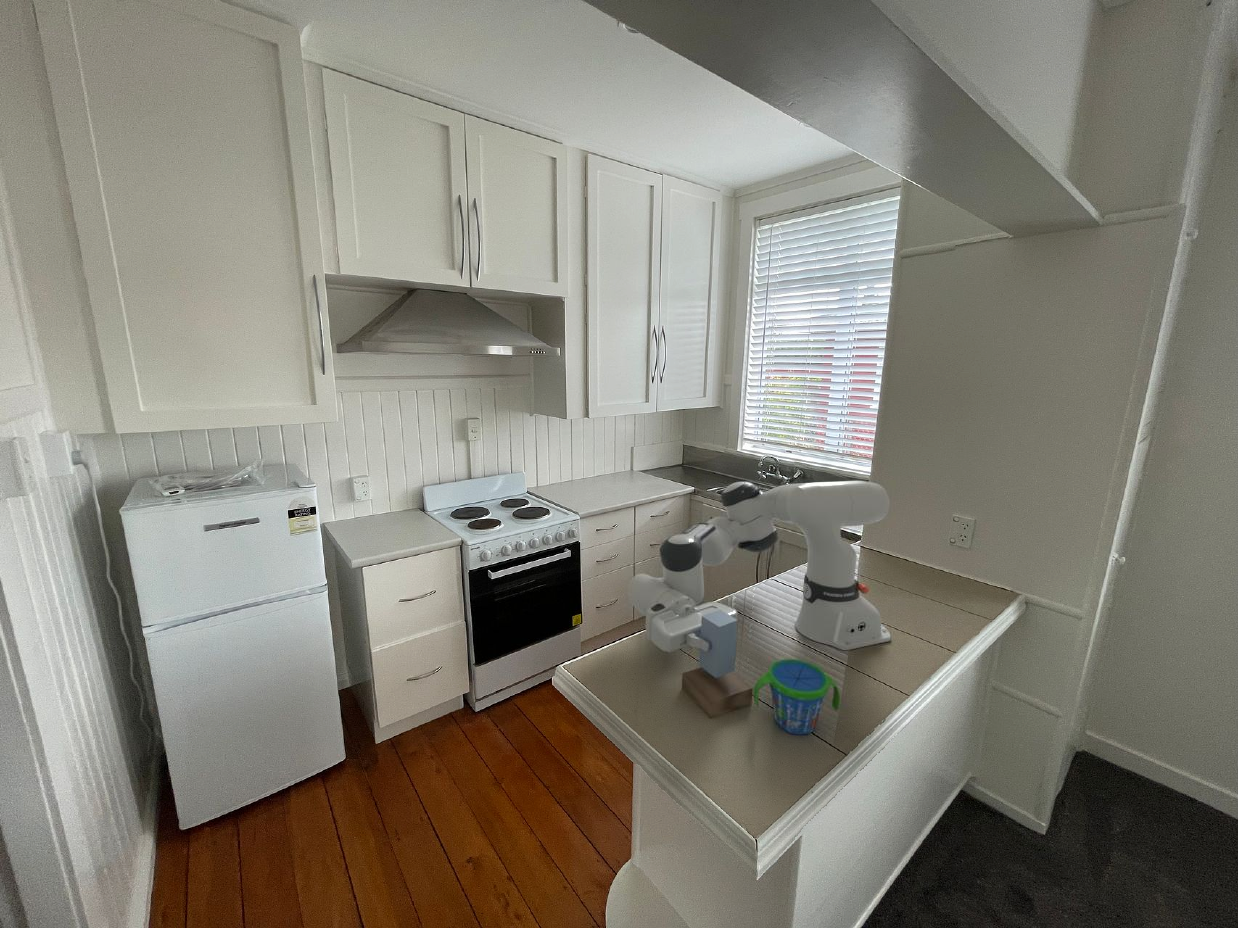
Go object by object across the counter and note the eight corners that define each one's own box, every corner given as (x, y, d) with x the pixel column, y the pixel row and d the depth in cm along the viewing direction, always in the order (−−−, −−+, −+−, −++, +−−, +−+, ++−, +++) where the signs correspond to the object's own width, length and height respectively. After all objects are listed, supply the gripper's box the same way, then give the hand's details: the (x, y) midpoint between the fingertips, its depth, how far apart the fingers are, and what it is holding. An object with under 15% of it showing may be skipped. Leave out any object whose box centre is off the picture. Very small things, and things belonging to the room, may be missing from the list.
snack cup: (755, 737, 92) (758, 687, 90) (748, 700, 102) (752, 654, 100) (845, 748, 90) (851, 697, 88) (830, 708, 100) (835, 662, 98)
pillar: (717, 657, 106) (719, 609, 104) (734, 670, 102) (737, 620, 100) (699, 665, 103) (701, 615, 101) (716, 678, 99) (719, 626, 97)
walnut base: (720, 678, 110) (721, 661, 109) (751, 705, 101) (752, 687, 100) (681, 690, 105) (682, 673, 105) (710, 720, 97) (711, 701, 96)
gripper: (711, 614, 118) (756, 642, 107) (639, 639, 107) (681, 672, 96) (712, 589, 117) (758, 614, 106) (640, 612, 106) (683, 642, 95)
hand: (721, 642), depth 101 cm, fingers closed on pillar, 5 cm apart
